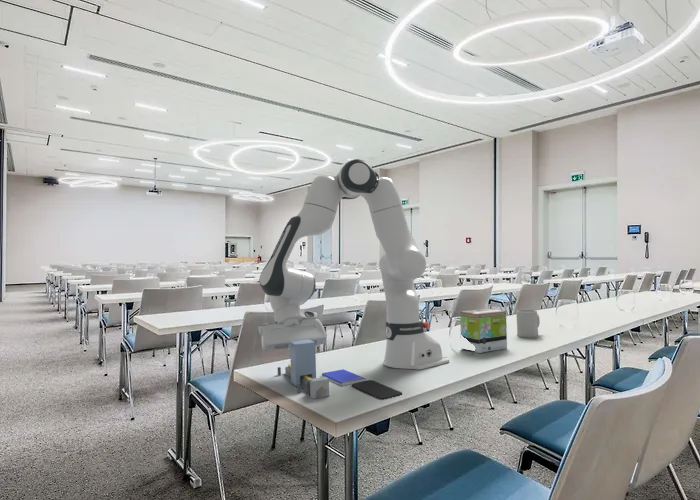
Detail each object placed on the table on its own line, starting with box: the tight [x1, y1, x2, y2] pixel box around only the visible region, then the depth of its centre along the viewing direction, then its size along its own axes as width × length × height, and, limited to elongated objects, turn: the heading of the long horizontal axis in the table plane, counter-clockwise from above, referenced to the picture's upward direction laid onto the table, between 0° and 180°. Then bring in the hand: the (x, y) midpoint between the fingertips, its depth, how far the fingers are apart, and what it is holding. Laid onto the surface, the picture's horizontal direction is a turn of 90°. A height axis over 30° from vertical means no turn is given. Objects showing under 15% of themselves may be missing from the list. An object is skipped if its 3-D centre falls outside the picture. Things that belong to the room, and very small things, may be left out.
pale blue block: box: [289, 340, 317, 387], centre depth 121 cm, size 6×5×12 cm
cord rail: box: [277, 363, 330, 399], centre depth 120 cm, size 8×28×4 cm, turn 25°
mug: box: [515, 309, 541, 339], centre depth 183 cm, size 12×8×11 cm
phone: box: [351, 379, 403, 401], centre depth 112 cm, size 7×1×15 cm
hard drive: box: [321, 368, 367, 387], centre depth 124 cm, size 2×8×12 cm
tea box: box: [459, 308, 508, 354], centre depth 159 cm, size 15×10×15 cm
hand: (299, 357), depth 124 cm, fingers closed, pressing on pale blue block
